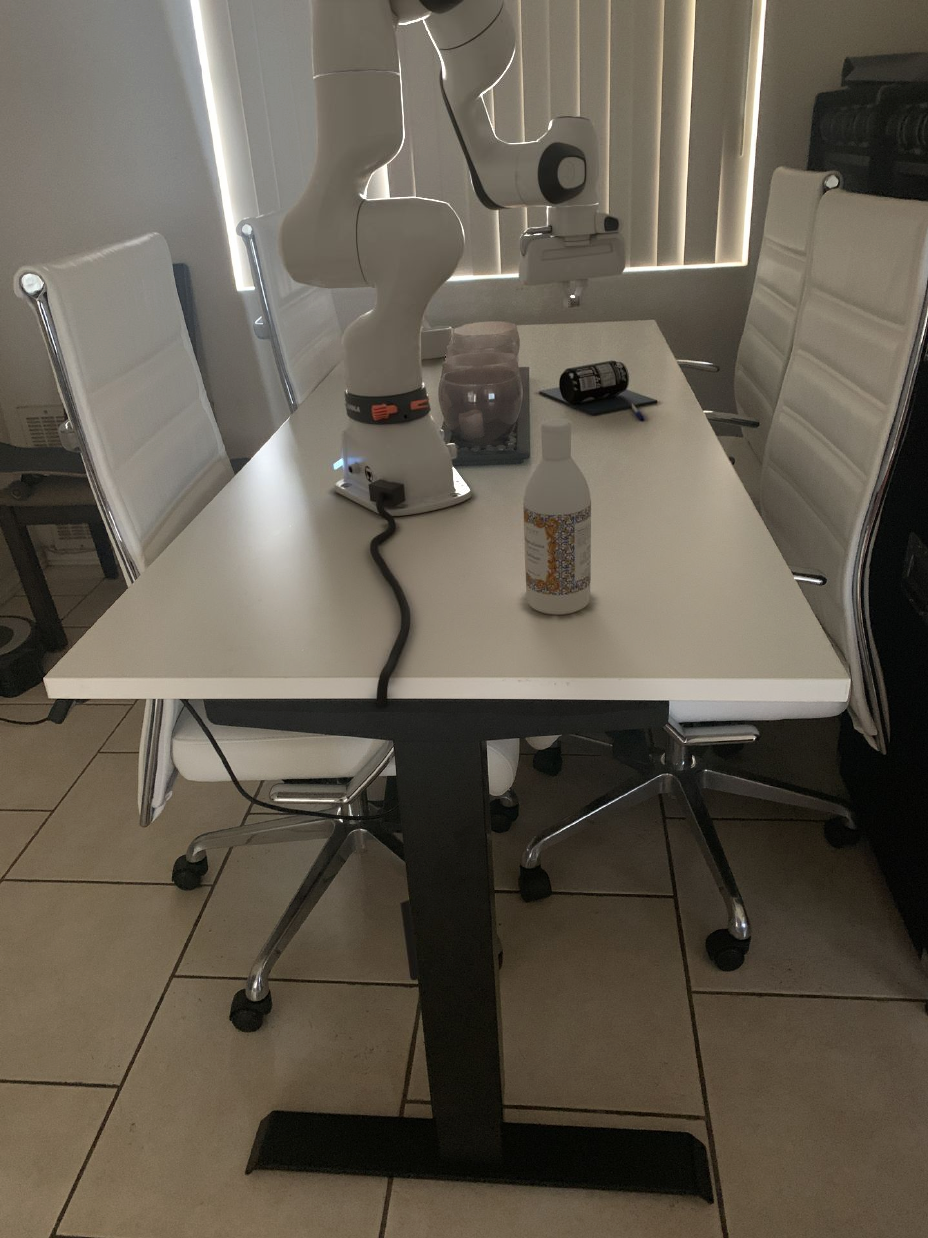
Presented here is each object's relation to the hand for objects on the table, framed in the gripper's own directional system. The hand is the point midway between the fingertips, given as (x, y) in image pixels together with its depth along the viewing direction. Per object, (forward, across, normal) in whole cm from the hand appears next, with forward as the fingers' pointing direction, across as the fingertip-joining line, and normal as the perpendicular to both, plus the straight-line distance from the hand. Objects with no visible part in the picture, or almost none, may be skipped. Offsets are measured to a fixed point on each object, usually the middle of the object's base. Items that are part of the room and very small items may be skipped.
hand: (572, 306), depth 160 cm
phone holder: (+17, -4, +64) cm, 66 cm away
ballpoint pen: (+18, +6, -13) cm, 23 cm away
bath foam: (+19, -43, -70) cm, 84 cm away
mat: (+17, +6, 0) cm, 18 cm away
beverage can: (+14, -3, -2) cm, 14 cm away
